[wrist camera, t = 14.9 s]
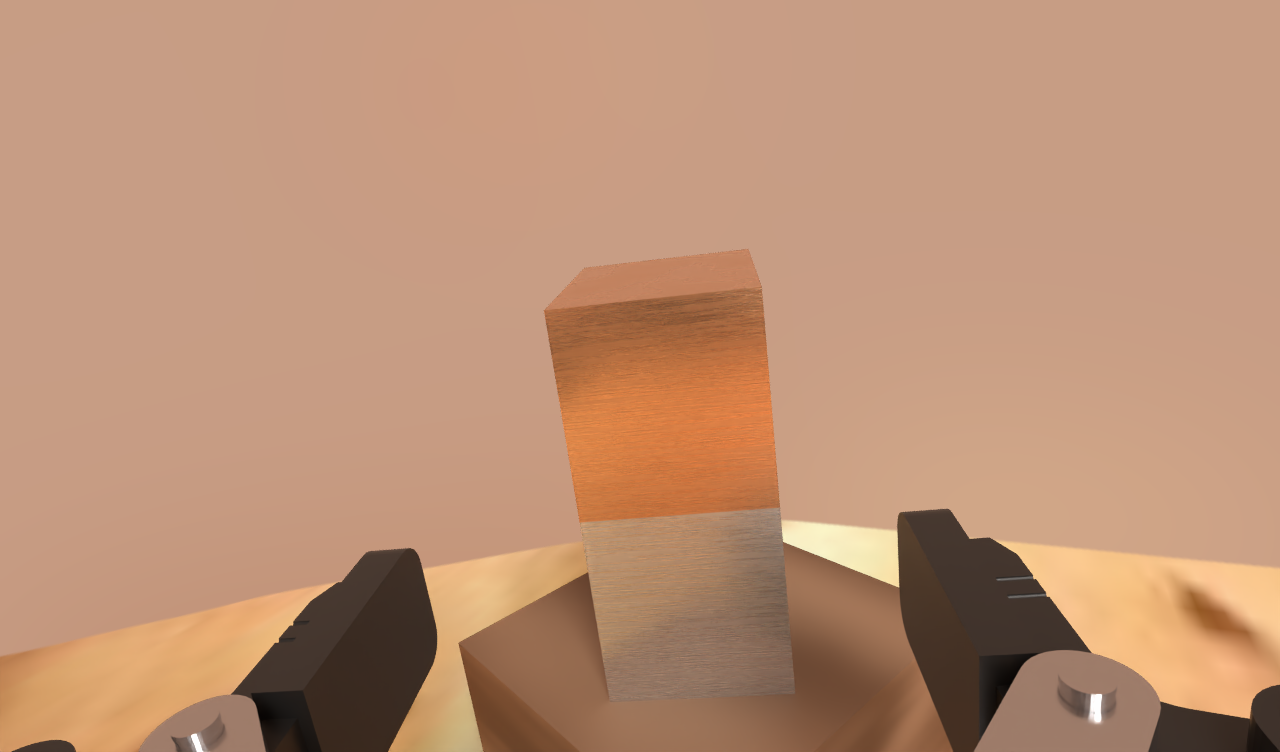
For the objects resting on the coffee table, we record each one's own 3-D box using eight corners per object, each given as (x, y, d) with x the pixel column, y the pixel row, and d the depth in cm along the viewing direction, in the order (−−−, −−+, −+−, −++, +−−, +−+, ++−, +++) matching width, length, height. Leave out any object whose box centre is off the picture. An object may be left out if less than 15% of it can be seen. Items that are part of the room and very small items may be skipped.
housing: (610, 702, 21) (543, 310, 17) (631, 579, 26) (584, 267, 23) (795, 693, 20) (761, 286, 17) (776, 570, 26) (748, 248, 23)
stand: (726, 1055, 18) (699, 857, 16) (492, 791, 26) (458, 642, 24) (964, 775, 24) (963, 613, 22) (716, 635, 32) (702, 510, 31)
